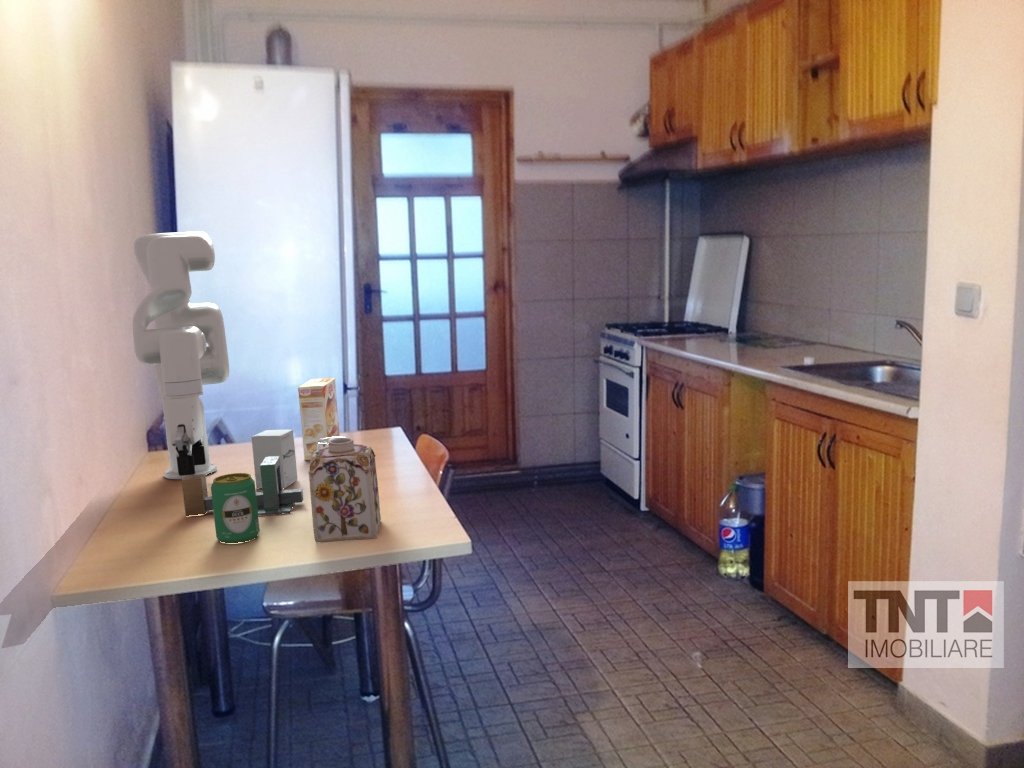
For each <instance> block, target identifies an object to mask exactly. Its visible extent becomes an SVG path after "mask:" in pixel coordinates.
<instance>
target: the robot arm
mask: <svg viewBox="0 0 1024 768" xmlns="http://www.w3.org/2000/svg"><path fill="white" fill-rule="evenodd" d="M133 250H134V255H135V259H136V261H137V264H138V267H139V268H140V270H141V272H142V274H143V275H144V277H145V279H146V281H147V283H148V285H149V288H150V292H149V293H148V294H147V295H146V296H145V297H144V298H143V299H142V300H141V301H140V302H139V304H138V306H137V307H136V309H135V312H134V314H133V317H132V337H133V348H134V353H135V356H136V358H137V360H138V361H139V363H141V364H143V365H147V366H152V365H153V367H154V368H153V370H154V375H155V377H156V382H157V385H158V388H159V392H160V393H159V394H160V398H161V403H162V412H163V419H164V429H165V434H166V444H167V445H166V446H167V454H168V460H169V461H168V462H169V468H168V469H166V470H165V471H164V472H163V475H164V478H166V479H167V480H182V479H183V478H184V477H185V476H186V475H198V474H205V475H206V474H209V473H211V474H213V473H212V472H214V471H215V472H216V471H217V470H218V465H217V464H216V463H212V462H211V461H210V453H209V443H208V441H209V440H208V435H207V425H206V416H205V409H204V403H203V401H202V399H201V398H200V396H203V395H204V390H203V389H204V388H203V386H209V385H216V384H217V385H218V384H221V383H224V382H226V381H227V380H228V378H229V377H230V363H229V360H230V359H229V354H228V353H229V352H228V347H227V346H228V345H227V344H228V343H227V338H226V337H227V336H226V330H225V329H226V327H225V322H224V318H223V314H222V313H223V312H222V311H221V309H220V307H219V306H218V305H217V304H215V303H213V302H212V303H211V302H199V303H191V302H190V298H191V296H192V286H191V285H192V284H191V279H190V278H191V277H190V272H191V273H192V272H207V271H211V270H213V267H214V266H215V262H216V254H215V248H214V245H213V242H212V240H211V238H210V237H209V235H208V233H206V232H204V231H185V232H159V233H158V232H157V233H148V234H143V235H141V236H139V237H138V238H136V239H135V241H134V244H133ZM153 321H154V325H155V328H151V329H148V326H149V325H150V323H152V322H153ZM207 345H208V346H207ZM215 472H214V473H215ZM209 475H210V474H209ZM206 476H207V475H206Z"/></svg>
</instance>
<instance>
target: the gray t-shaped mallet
mask: <svg viewBox="0 0 1024 768" xmlns="http://www.w3.org/2000/svg"><path fill="white" fill-rule="evenodd" d="M180 480H181V487H182V495H183V505H184V514H185V517H186V516H189V515H198V514H205V513H206V512H207V511H208V512H210V511H213V503H212V495H210V496H209V495H208V494H209V493H208V485H207V475H205V474H198V475H186V476H185V477H184V478H183V479H180ZM279 499H280V504H289V503H294V504H297V503H303V501H304V491H303V488H295V489H294V488H293V489H283V490H279ZM256 500H257V506H264V499H263V491H260V492H259V491H258V492H257V491H256Z"/></svg>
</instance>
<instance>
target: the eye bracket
mask: <svg viewBox="0 0 1024 768" xmlns="http://www.w3.org/2000/svg"><path fill="white" fill-rule="evenodd" d="M260 470H261V480H262V489H261V490H262V492H263V499H264V506H257V509H258V515H266V516H274V515H273V514H277V515H283V514H282V513H288V514H291V513H290V512H292V510H293V508H292V507H294V506H295V503H289V504H280V499H279V490H284V489H283V484H282V474H281V464H280V456H273V457H265V459H264V460H263V462H262V463H261V465H260ZM293 505H294V506H293Z"/></svg>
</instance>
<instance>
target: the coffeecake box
mask: <svg viewBox="0 0 1024 768" xmlns="http://www.w3.org/2000/svg"><path fill="white" fill-rule="evenodd" d="M297 391H298V401H299V402H298V403H299V414H300V415H299V416H300V423H301V424H300V425H301V436H302V447H303V461H310V460H311V455H312V454H313V453H314V452H315V451H316V441H317V440H320V439H323V438H329V437H341V436H340V422H339V412H338V411H339V410H338V400H337V398H338V397H337V389H336V378H335V377H323V378H311V379H309V380H308V381H306V382H304V383H303V384H301V385H299V386H297Z"/></svg>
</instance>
